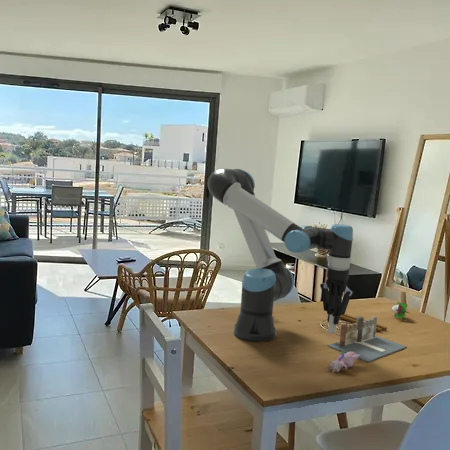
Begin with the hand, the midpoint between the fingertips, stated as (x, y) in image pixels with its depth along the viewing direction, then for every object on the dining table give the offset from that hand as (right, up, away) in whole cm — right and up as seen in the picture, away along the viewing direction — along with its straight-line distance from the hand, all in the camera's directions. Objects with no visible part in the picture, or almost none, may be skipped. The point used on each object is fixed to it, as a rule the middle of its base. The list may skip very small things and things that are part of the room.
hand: (331, 332), depth 170 cm
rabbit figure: (-1, -6, -22) cm, 23 cm away
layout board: (+12, -5, -2) cm, 13 cm away
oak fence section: (+5, -3, -3) cm, 7 cm away
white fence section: (+13, -4, +4) cm, 14 cm away
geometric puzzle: (+38, -2, +36) cm, 52 cm away
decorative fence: (+15, -2, +25) cm, 29 cm away
